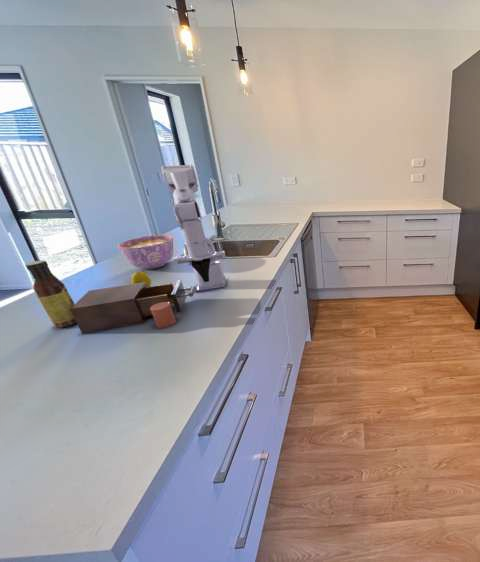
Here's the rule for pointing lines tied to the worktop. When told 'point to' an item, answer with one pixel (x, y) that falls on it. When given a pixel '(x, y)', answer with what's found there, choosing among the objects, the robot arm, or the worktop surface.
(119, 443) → the worktop surface
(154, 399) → the worktop surface
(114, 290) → the cabinet
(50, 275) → the sauce bottle
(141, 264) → the bowl of food
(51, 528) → the worktop surface
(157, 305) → the orange block
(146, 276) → the lemon
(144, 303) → the drawer
